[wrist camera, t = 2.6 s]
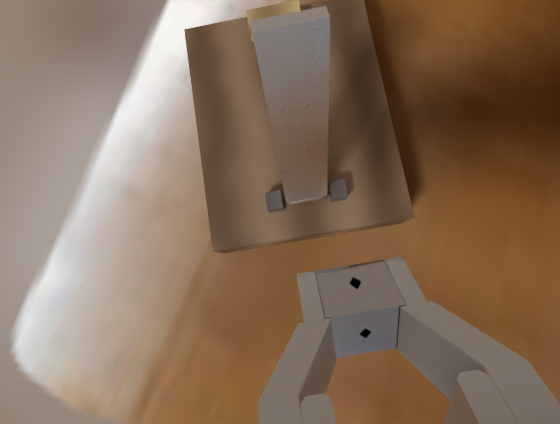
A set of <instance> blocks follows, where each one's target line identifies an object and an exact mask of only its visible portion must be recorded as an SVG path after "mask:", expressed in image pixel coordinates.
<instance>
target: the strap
mask: <svg viewBox="0 0 560 424" xmlns="http://www.w3.org/2000/svg"><path fill="white" fill-rule="evenodd" d="M250 22H251V29H252V35H253V40H254V45H255V50H256V55H257V60H258V65H259V70H260V75H261V80H262V85H263V90H264V95H265V100H266V105H267V110H268V115H269V120H270V125H271V129H272V134H273V139H274V144H275V149H276V154H277V159H278V164H279V169H280V174H281V179H282V184H283V189H284V194H285V199H286V204H287V205H292V204H298V203H304V202H310V201H315V200H321V199H327V180H328V114H329V48H330V16H329V13H328V10H327V7H326V6H323V7H318V8H313V9H308V10H303V11H298V12H293V13H288V14H283V15H278V16H272V17H267V18H262V19H257V20H252V21H250Z"/></svg>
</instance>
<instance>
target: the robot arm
mask: <svg viewBox="0 0 560 424" xmlns="http://www.w3.org/2000/svg"><path fill="white" fill-rule="evenodd" d="M297 280H298V287H299V293H300V300H301V306H302V313H303V319H304V322H303V323H299V324H298V326H297V328H296V330H295V331H294V333H293V335H292V337H291V339H290V341H289V343H288V345H287V347H286V349H285V351H284V353H283V355H282V357H281V359H280V361H279V362H278V364H277V366H276V368H275V370H274V372H273V374H272V376H271V378H270V380H269V382H268V384H267V386H266V388H265V390H264V392H263V394H262V395H261V397H260V399H259V401H258V418H259V424H336V422H335V417H334V412H333V407H332V402H331V398H329V397H328V396H326V395H325V393H326V390H327V387H328V384H329V381H330V378H331V375H332V372H333V369H334V366H335V363H336V358H340V357H345V356H350V355H356V354H361V353H366V352H374V351H382V350H389V349H397V351H399V352H400V353H401V354H402V355H403V356H404V357H405V358H406V359H407V360H408V361H409V362H410V363H411V364H412V365H413V366H414V367H416V368H417V369H418V370H419V371H420V372H421V373H422V374H423V375H424V376H425V377H426V378H427V379H428V380H429V381H430V382H431V383H433V384H434V385H435V386H436V387H437V388H438V389H439V390H440V391H441V392H442V393H443V394H444V395H445V396H446V397H447V398H448V399H450V404H449V407H448V410H447V414H446V417H445V420H444V423H443V424H560V404H559V403H558V401H557V400H556V399H555V397H554V396H553V394H552V393H551V392H550V390H549V389H548V388H547V386H546V385H545V383H544V382H543V381H542V379H541V378H540V376H539V375H538V374H537V372H536V371H535V370H534V368H533V367H532V365H531V364H530V363H529V361H528V360H526V359H525V358H523V357H522V356H520V355H518V354H517V353H515V352H514V351H512V350H510V349H509V348H507V347H506V346H504V345H502V344H501V343H499V342H498V341H496V340H494V339H493V338H491V337H490V336H488V335H486V334H485V333H483V332H482V331H480V330H478V329H477V328H475V327H474V326H472V325H470V324H469V323H467V322H466V321H464V320H462V319H461V318H459V317H458V316H456V315H454V314H453V313H451V312H450V311H448V310H446V309H445V308H443V307H442V306H440V305H438V304H437V303H435V302H434V301H431V302H427V300H426V298H425V296H424V295H423V293H422V291H421V289H420V287H419V286H418V284H417V282H416V280H415V278H414V277H413V275H412V273H411V271H410V269H409V267H408V266H407V264H406V262H405V260H404V259H403V258H402V257H395V258H389V259H384V260H377V261H372V262H366V263H361V264H355V265H350V266H346V267H339V268H332V269H325V270H318V271H315V272H314V271H313V272H307V273H300V274H297Z"/></svg>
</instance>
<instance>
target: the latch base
mask: <svg viewBox="0 0 560 424" xmlns="http://www.w3.org/2000/svg"><path fill="white" fill-rule="evenodd" d="M323 6H326V7H327V10H328V13H329V16H330V48H329V114H328V180H327V199H321V200H315V201H310V202H304V203H298V204H292V205H287V204H286V199H285V194H284V189H283V184H282V179H281V174H280V169H279V164H278V159H277V154H276V149H275V144H274V139H273V134H272V129H271V125H270V120H269V115H268V110H267V105H266V100H265V95H264V90H263V85H262V80H261V75H260V70H259V65H258V60H257V55H256V50H255V45H254V40H253V35H252V29H251V22H250V21H252V20H257V19H262V18H267V17H272V16H278V15H283V14H288V13H293V12H298V11H303V10H308V9H313V8H318V7H323ZM246 12H247V17H245V18H240V19H235V20H230V21H225V22H220V23H215V24H210V25H205V26H200V27H195V28H190V29H185V37H186V45H187V53H188V60H189V68H190V76H191V84H192V92H193V99H194V107H195V115H196V123H197V130H198V138H199V146H200V154H201V162H202V169H203V177H204V185H205V193H206V201H207V208H208V216H209V224H210V232H211V239H212V247H213V252H221V253H228V252H234V251H240V250H246V249H252V248H258V247H264V246H269V245H275V244H281V243H287V242H293V241H299V240H305V239H311V238H317V237H323V236H329V235H335V234H341V233H347V232H353V231H359V230H365V229H371V228H377V227H382V226H388V225H394V224H400V223H402V222H405V221H407V220H410V219H412V218H415V217H414V213H413V209H412V205H411V200H410V196H409V192H408V187H407V183H406V179H405V175H404V170H403V166H402V162H401V157H400V153H399V149H398V145H397V140H396V136H395V132H394V127H393V123H392V119H391V115H390V110H389V106H388V102H387V98H386V93H385V89H384V85H383V80H382V76H381V72H380V68H379V63H378V59H377V55H376V50H375V46H374V42H373V38H372V33H371V29H370V25H369V20H368V16H367V12H366V8H365V3H364V0H332V1H326V2H321V3H316V4H311V5H306V6H301V7H300V5H299V0H296V1H291V2H286V3H281V4H276V5H271V6H266V7H261V8H256V9H251V10H246Z"/></svg>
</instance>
